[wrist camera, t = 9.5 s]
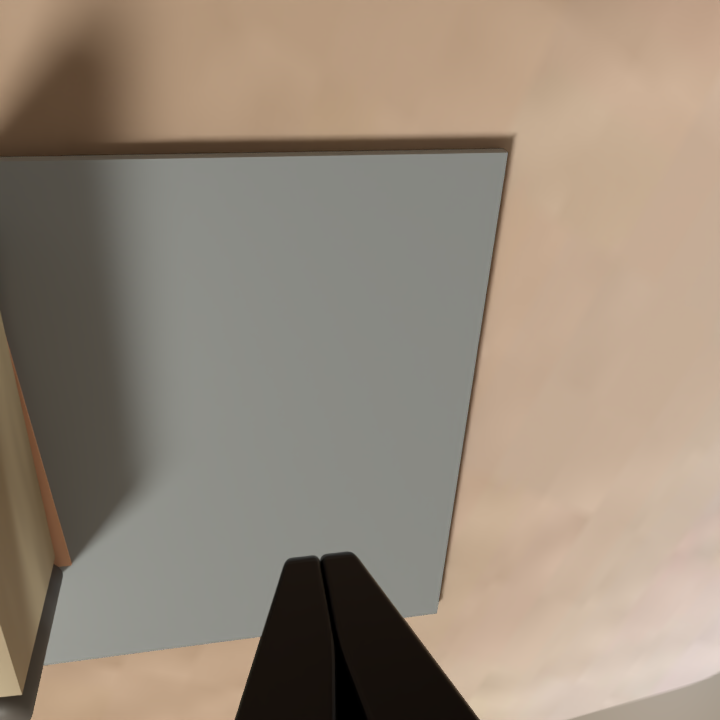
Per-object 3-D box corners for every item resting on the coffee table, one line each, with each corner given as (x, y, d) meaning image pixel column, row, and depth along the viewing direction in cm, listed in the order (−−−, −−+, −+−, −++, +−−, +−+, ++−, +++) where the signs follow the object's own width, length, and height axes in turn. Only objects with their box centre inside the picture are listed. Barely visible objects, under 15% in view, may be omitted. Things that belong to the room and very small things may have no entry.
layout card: (-802, 169, 12) (-828, 177, 11) (503, 148, 15) (508, 153, 15) (-318, 704, 20) (-326, 716, 20) (434, 606, 24) (437, 614, 24)
